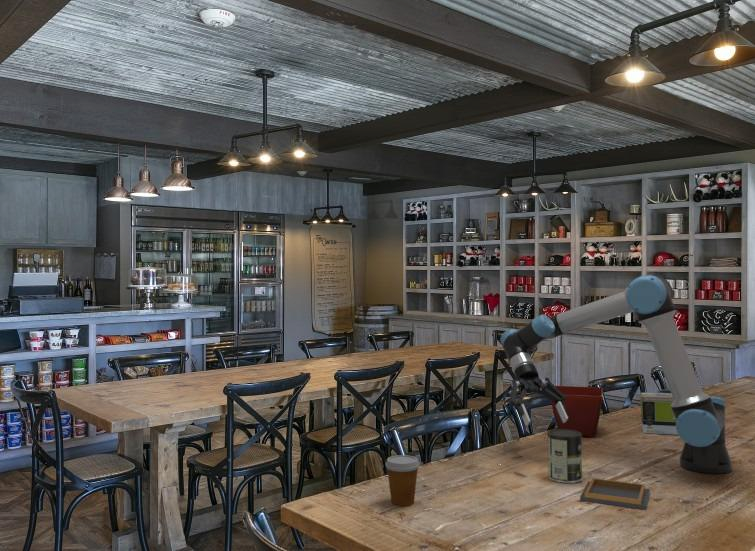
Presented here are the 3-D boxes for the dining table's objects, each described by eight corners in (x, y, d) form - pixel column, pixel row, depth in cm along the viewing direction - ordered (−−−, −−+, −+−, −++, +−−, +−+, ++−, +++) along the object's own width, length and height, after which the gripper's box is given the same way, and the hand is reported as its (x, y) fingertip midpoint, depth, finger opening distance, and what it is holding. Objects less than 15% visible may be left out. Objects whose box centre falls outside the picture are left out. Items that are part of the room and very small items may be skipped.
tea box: (681, 430, 261) (681, 393, 261) (684, 436, 252) (684, 397, 252) (641, 427, 266) (640, 391, 266) (642, 433, 257) (641, 395, 257)
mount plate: (649, 492, 188) (649, 484, 188) (645, 509, 175) (645, 501, 175) (588, 484, 196) (588, 477, 196) (580, 500, 182) (580, 492, 182)
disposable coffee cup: (409, 510, 176) (408, 466, 176) (379, 504, 181) (378, 461, 181) (425, 500, 184) (425, 457, 184) (396, 494, 189) (396, 452, 189)
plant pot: (550, 436, 253) (549, 393, 253) (554, 425, 271) (554, 385, 271) (602, 440, 247) (602, 396, 246) (603, 429, 264) (603, 387, 264)
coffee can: (580, 474, 206) (580, 429, 206) (584, 484, 196) (583, 437, 196) (546, 472, 208) (546, 428, 208) (548, 482, 198) (548, 436, 198)
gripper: (552, 373, 232) (576, 425, 218) (487, 377, 225) (508, 431, 211) (560, 360, 227) (585, 412, 212) (494, 364, 220) (515, 418, 206)
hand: (547, 422), depth 212 cm, fingers open, 13 cm apart
